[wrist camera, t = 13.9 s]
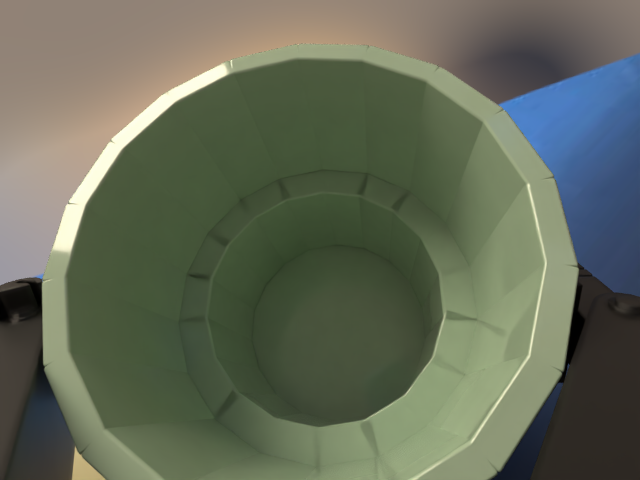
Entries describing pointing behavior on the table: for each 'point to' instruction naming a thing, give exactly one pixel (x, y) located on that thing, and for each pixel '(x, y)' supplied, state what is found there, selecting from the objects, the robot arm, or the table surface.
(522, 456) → the table surface
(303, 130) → the plant pot
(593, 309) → the robot arm
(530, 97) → the table surface
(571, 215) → the table surface
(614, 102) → the table surface
